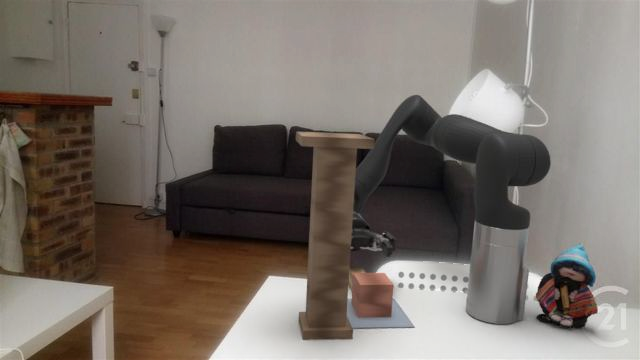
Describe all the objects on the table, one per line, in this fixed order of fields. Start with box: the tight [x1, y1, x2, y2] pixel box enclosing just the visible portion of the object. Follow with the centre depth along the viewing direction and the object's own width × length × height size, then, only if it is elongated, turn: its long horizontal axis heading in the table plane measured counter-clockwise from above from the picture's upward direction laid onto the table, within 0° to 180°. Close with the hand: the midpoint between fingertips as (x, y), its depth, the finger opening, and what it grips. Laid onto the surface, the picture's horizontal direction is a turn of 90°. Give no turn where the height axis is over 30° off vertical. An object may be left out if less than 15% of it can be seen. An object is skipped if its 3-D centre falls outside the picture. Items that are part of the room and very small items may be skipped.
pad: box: [347, 297, 416, 330], centre depth 89 cm, size 11×12×1 cm
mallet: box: [348, 267, 394, 318], centre depth 95 cm, size 6×17×6 cm, turn 8°
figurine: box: [535, 243, 599, 330], centre depth 87 cm, size 10×7×15 cm
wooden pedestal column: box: [295, 131, 375, 341], centre depth 81 cm, size 11×10×32 cm
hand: (367, 251), depth 94 cm, fingers open, 8 cm apart
